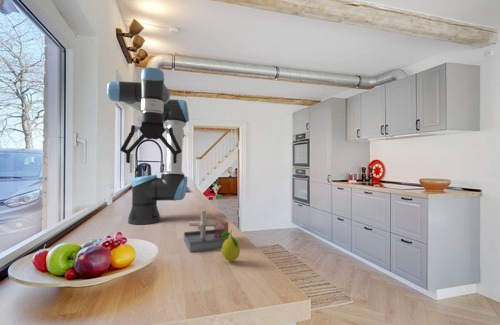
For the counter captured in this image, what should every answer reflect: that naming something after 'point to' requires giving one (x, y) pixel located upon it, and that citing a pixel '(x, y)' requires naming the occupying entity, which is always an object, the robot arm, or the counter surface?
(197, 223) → the pipe connector
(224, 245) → the lemon
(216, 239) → the grey shallow tray
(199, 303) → the counter surface
